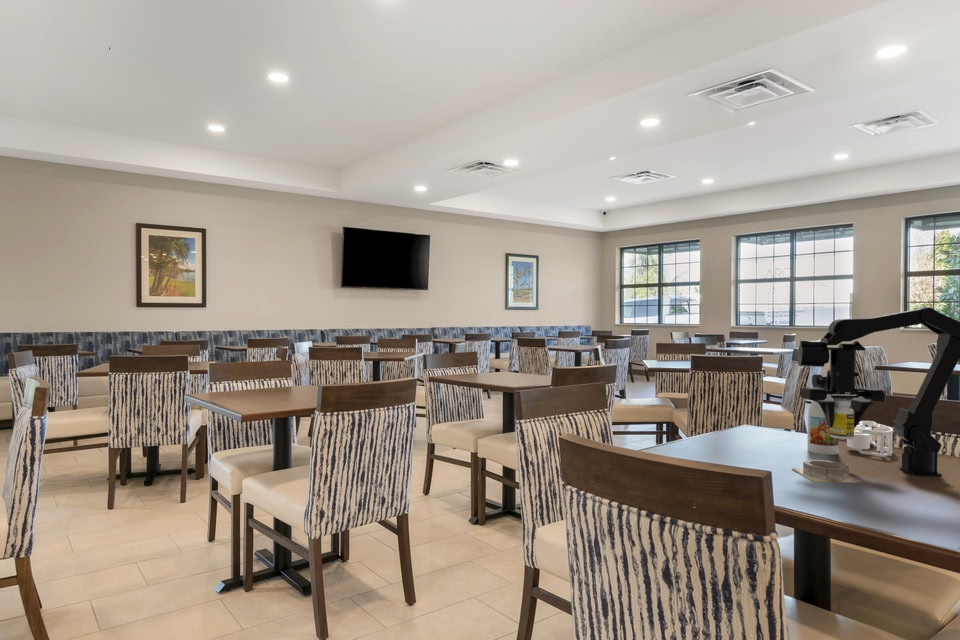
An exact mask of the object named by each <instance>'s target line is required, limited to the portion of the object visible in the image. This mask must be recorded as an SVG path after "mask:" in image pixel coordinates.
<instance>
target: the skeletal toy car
mask: <svg viewBox="0 0 960 640" xmlns="http://www.w3.org/2000/svg"><path fill="white" fill-rule="evenodd" d="M866 425H867V426H866ZM873 428H876V430H873ZM893 431H894V428H893V427H891V426H888V425H885V424H880V423H877V422H876V421H872V420H861V421H860V420H859V422H858V424H857V426H856V427H855V428H854V438H853V439H846V446H847V447H849V448H851V449H854V450H857V452H858V453H860V454H862V455H869V456H874V457H879V458H887V457H891V456H892V455H893ZM873 436H876V442H875V441H873V440H872V439H873ZM885 437H887V446H885ZM870 446H873V447H874V448H876V451H877V452H873V451H868V450H869V449H870V448H871V447H870ZM866 450H867V451H866Z"/></svg>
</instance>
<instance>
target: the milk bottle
mask: <svg viewBox="0 0 960 640" xmlns="http://www.w3.org/2000/svg"><path fill="white" fill-rule="evenodd" d="M817 388H819V387H817ZM833 399H834V398H831V401H832V402H833ZM811 401H812V402H811V403H810V405H809V408H808V415H807V416H808V417H807V451H808V453H812V454H816V455H823V456H836V455H838V453H839V439H838V438H833V437H831V436H830V427H829V426H828V423H827V421H826V418H825V415H824V413H823V410H822V408H821V407H820V405H819V404H818V403H817V402H815V401H813V400H811Z"/></svg>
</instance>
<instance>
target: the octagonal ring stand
mask: <svg viewBox="0 0 960 640" xmlns="http://www.w3.org/2000/svg"><path fill="white" fill-rule="evenodd" d="M802 465H803V466H802V468H795V467H791V470H792V471H794V472H795V473H797V474H798V475H801V476H802V477H804V478H806V479H808V480H810V481H811V482H814V483H815V482H816V483H849V484H851V483H853V484H862V483H863V481H862V480H859V479H858V478H855V477H854V476H852V475H850V472H849V470H850V467H849V465H846V464H844V463H842V462H837V461H831V460H826V459H825V460H824V459H807V460H805V461H803V462H802Z"/></svg>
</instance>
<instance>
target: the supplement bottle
mask: <svg viewBox="0 0 960 640" xmlns="http://www.w3.org/2000/svg"><path fill="white" fill-rule="evenodd" d="M833 402H835V405H834V420H833V426H832V427H830V436H831V437H833V438H838V440H847V439H853V438H854V411H853V409H852V405H851V400H850V399H847V398H835V399H834V398H833Z"/></svg>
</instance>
